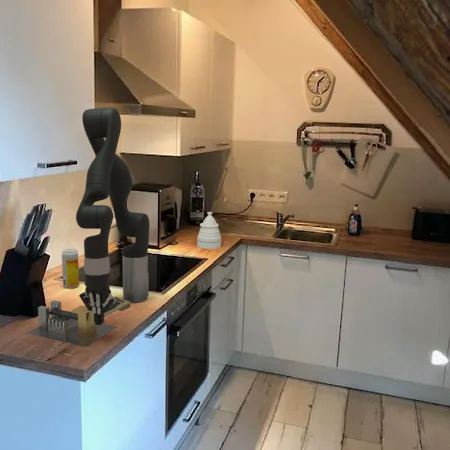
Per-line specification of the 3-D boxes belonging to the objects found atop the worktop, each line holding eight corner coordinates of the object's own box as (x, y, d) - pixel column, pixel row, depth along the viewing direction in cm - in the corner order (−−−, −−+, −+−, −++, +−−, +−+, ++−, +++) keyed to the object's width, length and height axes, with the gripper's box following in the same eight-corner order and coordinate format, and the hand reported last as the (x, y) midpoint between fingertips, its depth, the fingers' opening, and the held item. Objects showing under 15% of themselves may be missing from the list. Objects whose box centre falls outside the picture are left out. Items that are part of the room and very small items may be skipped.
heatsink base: (61, 318, 171) (60, 295, 169) (117, 330, 163) (116, 306, 161) (26, 336, 156) (25, 311, 155) (86, 350, 148) (85, 324, 146)
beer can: (82, 286, 203) (81, 250, 199) (70, 290, 198) (68, 253, 194) (72, 283, 206) (70, 247, 203) (60, 286, 201) (58, 250, 198)
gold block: (82, 327, 161) (81, 304, 159) (96, 331, 159) (95, 307, 157) (72, 333, 156) (71, 310, 155) (86, 337, 154) (85, 313, 153)
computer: (101, 322, 169) (101, 313, 169) (83, 317, 173) (83, 308, 172) (131, 307, 183) (130, 299, 182) (113, 303, 187) (113, 295, 186)
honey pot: (197, 242, 276) (197, 210, 273) (220, 243, 277) (221, 211, 273) (197, 248, 264) (197, 215, 260) (221, 249, 265) (222, 215, 261)
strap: (52, 310, 163) (52, 307, 163) (86, 317, 158) (86, 314, 158) (45, 313, 160) (45, 310, 160) (79, 321, 155) (79, 318, 155)
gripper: (71, 271, 150) (73, 325, 154) (108, 276, 146) (110, 332, 149) (86, 264, 157) (89, 316, 161) (122, 269, 152) (124, 323, 156)
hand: (99, 324), depth 155 cm, fingers closed
